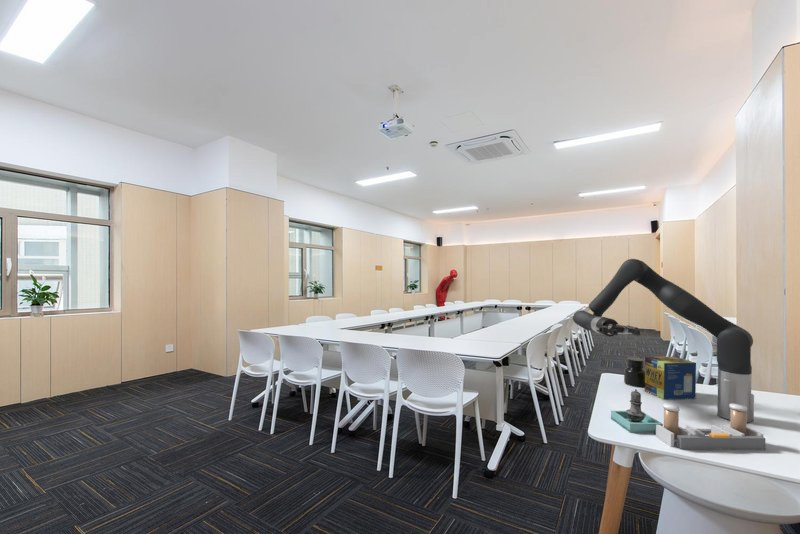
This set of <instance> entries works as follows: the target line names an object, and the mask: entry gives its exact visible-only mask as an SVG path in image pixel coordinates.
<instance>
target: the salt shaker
mask: <svg viewBox="0 0 800 534" xmlns="http://www.w3.org/2000/svg"><path fill="white" fill-rule="evenodd" d="M641 398H642V394H641V393H640V391H638V389H637V388H635V389H634V390H632V391H631V393H630V400H629V402H630V408H629V409H626V410H625V411H626V413H627V416H628V417H629V418H630V419H629V420H628V421H629V422H631V423H643V422H641V421H642V420H644V418H645V416H646V414H647V413H645V412H644V413H643V411H642V404H643V402H642V401H641V400H642V399H641Z"/></svg>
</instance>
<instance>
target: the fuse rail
mask: <svg viewBox="0 0 800 534" xmlns="http://www.w3.org/2000/svg"><path fill="white" fill-rule="evenodd" d="M654 434H655V437H656V438H657V439H658V440H660V441H662V442H663V443H665V444H667V445H668V446H669V447H670V448H672V447H675V443H674V433H672V432H671V431H669V430H667V429H666V428H664V426H663V427H662V426H661V425H656V430H655V433H654ZM706 434H707V435H706ZM676 447H677V448H678V447H679V448H678V449H680V450H731V449H740V450H742V451H745V450H746V451H747V450H749V451H750V450H751V451H754V450H757V451H759V450H761V451H765V450H766V438H765V437H764V434H763V433H762V432H759V431H756V430H755V429H752V428H751V427H748V426H747V436H745V434H743V433H741V432H739V431H737V430H735V429H733V428H731V426H729V425H726V424H723V425H722V428H721V427H719V426H717V425H714V424H711V425H710V428H695V427H694V426H691V425H690V424H685V428H683V427H682V426H678V435H677V443H676Z"/></svg>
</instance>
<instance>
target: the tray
mask: <svg viewBox="0 0 800 534" xmlns="http://www.w3.org/2000/svg"><path fill="white" fill-rule="evenodd" d="M642 412H643V411H642ZM643 413H645V412H643ZM645 414H646V416H645V418H644V420H642V421H641V422H643V423H631V422H629V421H628V420H629V419H630V418H629V417H628V416H627V413H626V410H610V419H611V420H612V421H613V422H614V423H616V424H618V425H619V426H620V427H622V429H624V430H626V431H627V432H629V433H634V434H635V433H636V434H637V433H640V434H641V433H642V434H643V433H645V434H646V433H650V434H656V433H655V430H656V425H661V426H662V427H664V423H662V422H660V421H659V420H658V419H656V418H653V417H652V416H650V415H649V414H647V413H645Z"/></svg>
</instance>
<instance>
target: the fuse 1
mask: <svg viewBox="0 0 800 534" xmlns="http://www.w3.org/2000/svg"><path fill="white" fill-rule="evenodd" d="M662 408H663V427H664V428H666V429H667V430H669V431H671V432H672V433H674V444H677V435H678V426H679V425H680V424H679V419H680V418H679V417H680V416H679V414H680V408H681V407H680V406H679V405H677V404H673V403H670V402H669V403H668V402H667V403H666V402H665V403H663V405H662Z"/></svg>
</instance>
